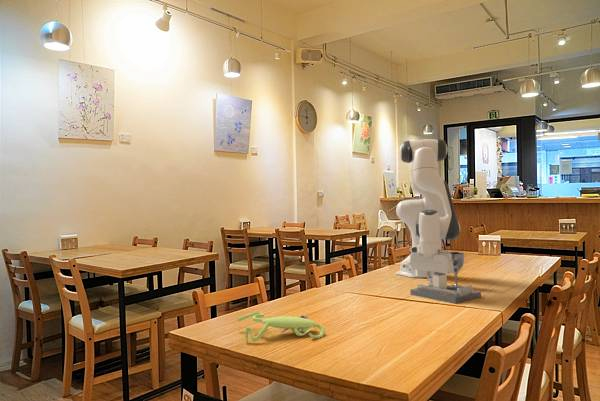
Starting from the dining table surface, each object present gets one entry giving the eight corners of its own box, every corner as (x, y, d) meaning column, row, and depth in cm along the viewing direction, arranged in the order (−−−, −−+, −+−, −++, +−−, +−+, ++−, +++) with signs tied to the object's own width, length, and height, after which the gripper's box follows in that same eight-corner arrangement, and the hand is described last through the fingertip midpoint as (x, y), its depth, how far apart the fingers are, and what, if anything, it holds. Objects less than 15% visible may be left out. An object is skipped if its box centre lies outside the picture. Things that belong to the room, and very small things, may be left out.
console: (410, 294, 186) (410, 282, 186) (435, 288, 195) (435, 277, 195) (455, 303, 168) (454, 290, 168) (481, 296, 177) (480, 284, 177)
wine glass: (468, 288, 194) (467, 253, 194) (450, 288, 194) (448, 254, 194) (462, 284, 202) (460, 251, 202) (444, 285, 202) (443, 252, 202)
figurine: (238, 328, 148) (238, 311, 148) (318, 322, 150) (318, 306, 150) (235, 346, 130) (235, 327, 130) (326, 340, 132) (326, 321, 132)
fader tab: (433, 289, 183) (432, 273, 183) (441, 288, 186) (440, 271, 186) (439, 290, 181) (438, 274, 181) (447, 289, 183) (446, 272, 183)
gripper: (456, 250, 179) (457, 284, 180) (417, 246, 197) (418, 278, 197) (446, 251, 176) (447, 286, 176) (407, 248, 193) (408, 280, 193)
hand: (431, 282), depth 186 cm, fingers closed
